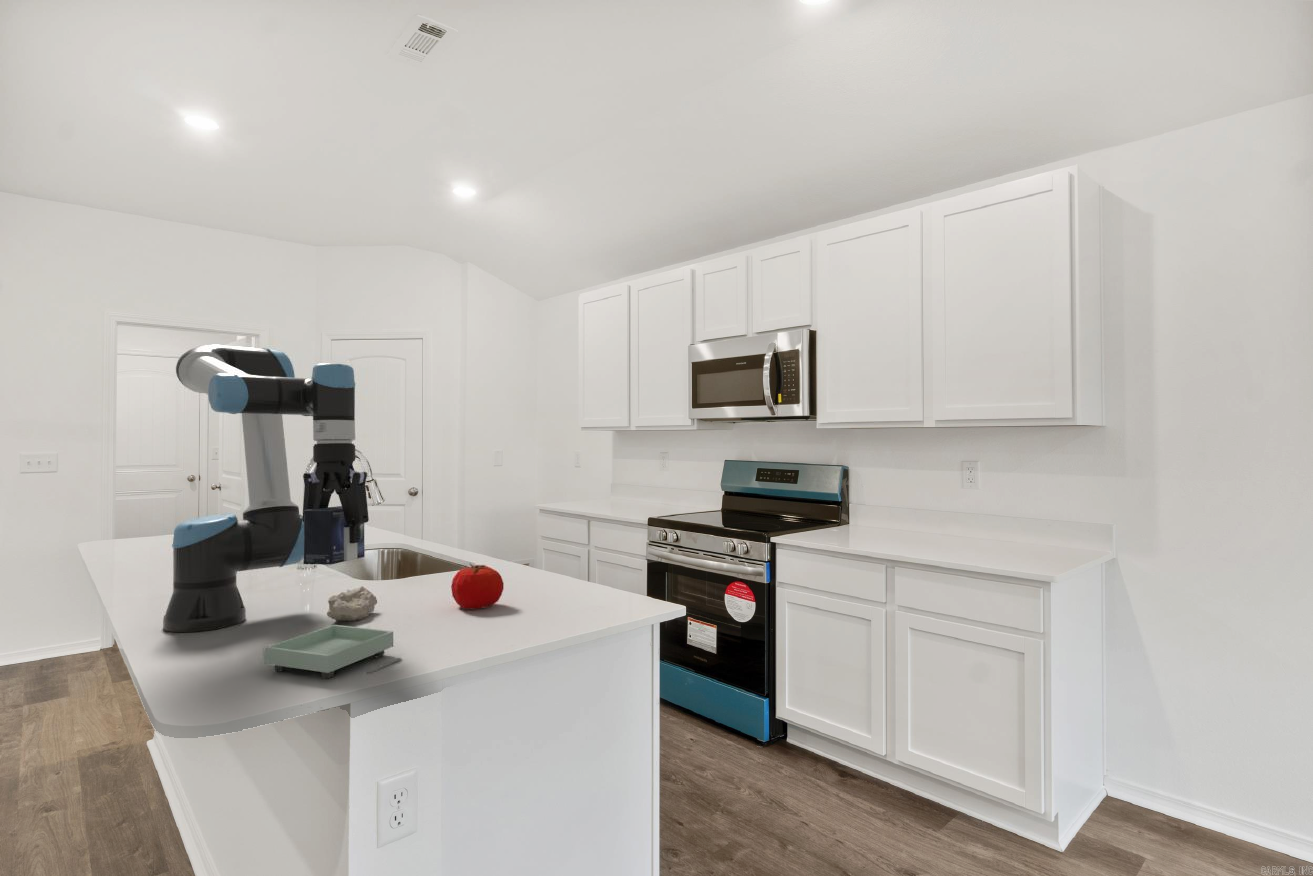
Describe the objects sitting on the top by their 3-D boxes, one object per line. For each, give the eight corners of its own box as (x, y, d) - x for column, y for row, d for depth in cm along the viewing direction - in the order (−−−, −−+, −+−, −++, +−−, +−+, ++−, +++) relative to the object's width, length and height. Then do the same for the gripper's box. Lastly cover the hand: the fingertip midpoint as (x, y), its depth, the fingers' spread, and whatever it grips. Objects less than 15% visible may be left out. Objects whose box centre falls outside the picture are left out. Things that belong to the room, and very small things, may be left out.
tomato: (461, 601, 170) (461, 560, 170) (510, 602, 169) (509, 561, 169) (440, 612, 159) (440, 568, 159) (492, 614, 158) (492, 569, 158)
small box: (332, 565, 128) (331, 509, 128) (302, 565, 129) (301, 510, 130) (366, 557, 138) (366, 505, 139) (338, 557, 140) (337, 505, 140)
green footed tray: (264, 672, 118) (264, 647, 118) (334, 647, 132) (334, 624, 132) (328, 682, 113) (328, 656, 113) (393, 655, 127) (393, 631, 127)
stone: (377, 630, 157) (386, 587, 162) (350, 617, 146) (361, 571, 151) (345, 630, 158) (355, 588, 163) (317, 617, 147) (328, 572, 152)
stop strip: (366, 673, 117) (366, 671, 117) (398, 659, 125) (398, 658, 125) (370, 673, 117) (370, 672, 117) (402, 659, 125) (402, 658, 125)
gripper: (279, 443, 134) (280, 560, 134) (360, 441, 128) (362, 564, 127) (310, 443, 141) (311, 555, 141) (388, 441, 135) (389, 558, 134)
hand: (335, 559), depth 134 cm, fingers closed on small box, 7 cm apart
